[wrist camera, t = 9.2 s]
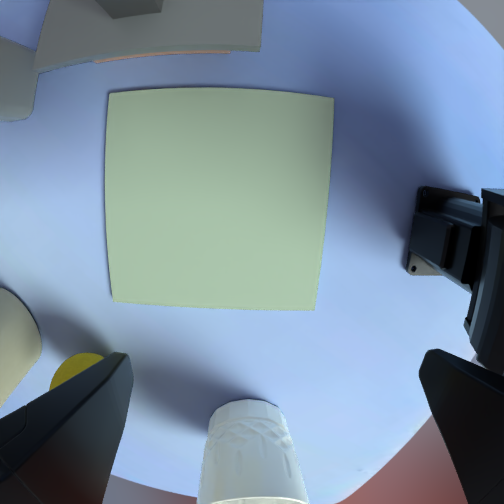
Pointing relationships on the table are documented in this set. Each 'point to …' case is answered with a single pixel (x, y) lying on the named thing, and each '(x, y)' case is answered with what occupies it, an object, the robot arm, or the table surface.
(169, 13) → the lid
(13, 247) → the table surface
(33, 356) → the travel mug
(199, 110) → the mat
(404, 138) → the table surface
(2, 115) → the power adapter
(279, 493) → the white cup
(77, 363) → the lemon
